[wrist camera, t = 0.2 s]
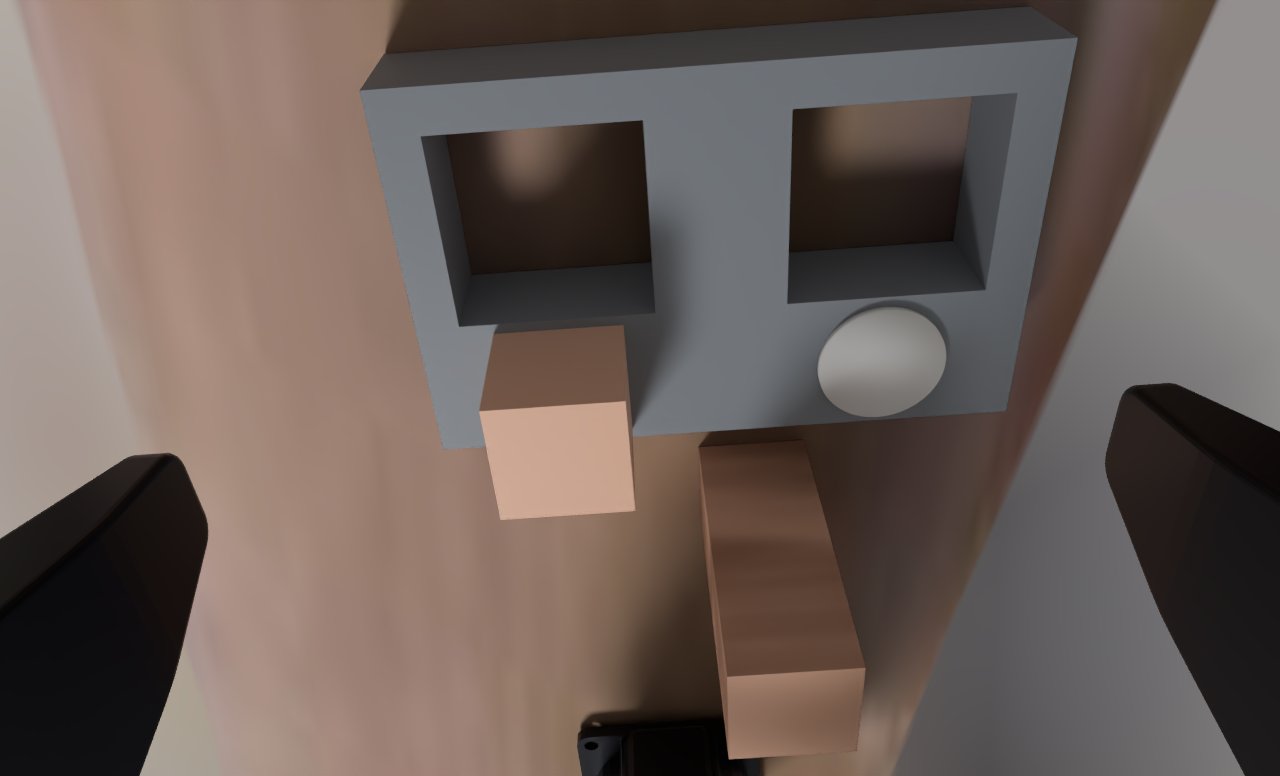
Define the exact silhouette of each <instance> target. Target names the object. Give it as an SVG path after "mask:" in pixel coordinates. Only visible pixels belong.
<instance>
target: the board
mask: <svg viewBox="0 0 1280 776" xmlns="http://www.w3.org/2000/svg"><path fill="white" fill-rule="evenodd" d="M1077 40H1078V38H1077V37H1076V36H1075V35H1073V34H1072V33H1070V32H1069V31H1067V30H1066V29H1064V28H1063V27H1061V26H1060V25H1058V24H1057V23H1055V22H1054V21H1052V20H1051V19H1049V18H1048V17H1046V16H1045V15H1043V14H1042V13H1040V12H1039V11H1038V10H1036V9H1035V8H1033V7H1032V6H1027V7H1013V8H1000V9H986V10H973V11H959V12H946V13H932V14H919V15H905V16H892V17H878V18H865V19H851V20H837V21H824V22H810V23H797V24H783V25H770V26H756V27H743V28H729V29H716V30H702V31H689V32H675V33H662V34H648V35H635V36H621V37H608V38H594V39H581V40H567V41H554V42H540V43H527V44H513V45H500V46H486V47H473V48H459V49H446V50H432V51H419V52H405V53H392V54H384V55H383V56H382V58H381V59H380V61H379V62H378V64H377V65H376V67H375V68H374V70H373V71H372V73H371V74H370V76H369V77H368V79H367V80H366V82H365V83H364V85H363V86H362V88H361V89H360V94H361V98H362V103H363V107H364V111H365V116H366V120H367V124H368V128H369V133H370V137H371V141H372V146H373V150H374V154H375V158H376V163H377V167H378V171H379V176H380V180H381V184H382V189H383V193H384V197H385V201H386V206H387V210H388V214H389V219H390V223H391V227H392V231H393V236H394V240H395V244H396V249H397V253H398V257H399V261H400V266H401V270H402V274H403V279H404V283H405V287H406V292H407V296H408V300H409V304H410V309H411V313H412V317H413V322H414V326H415V330H416V334H417V339H418V343H419V347H420V352H421V356H422V360H423V365H424V369H425V373H426V377H427V382H428V386H429V390H430V395H431V399H432V403H433V407H434V412H435V416H436V420H437V425H438V429H439V433H440V437H441V442H442V446H443V450H445V449H460V448H475V447H486V449H487V454H488V459H489V464H490V469H491V474H492V479H493V484H494V489H495V494H496V499H497V504H498V509H499V514H500V519H501V520H507V519H521V518H536V517H551V516H566V515H581V514H596V513H611V512H626V511H635V484H634V455H633V437H636V436H651V435H665V434H680V433H695V432H709V431H724V430H738V429H753V428H768V427H782V426H797V425H812V424H826V423H841V422H856V421H870V420H885V419H900V418H914V417H929V416H944V415H958V414H973V413H988V412H1002V411H1006V409H1007V404H1008V399H1009V394H1010V388H1011V383H1012V378H1013V373H1014V368H1015V362H1016V357H1017V352H1018V347H1019V342H1020V336H1021V331H1022V326H1023V321H1024V316H1025V310H1026V305H1027V300H1028V295H1029V290H1030V284H1031V279H1032V274H1033V269H1034V264H1035V258H1036V253H1037V248H1038V243H1039V238H1040V232H1041V227H1042V222H1043V217H1044V212H1045V206H1046V201H1047V196H1048V191H1049V186H1050V180H1051V175H1052V170H1053V165H1054V160H1055V154H1056V149H1057V144H1058V139H1059V134H1060V128H1061V123H1062V118H1063V113H1064V108H1065V102H1066V97H1067V92H1068V87H1069V82H1070V76H1071V71H1072V66H1073V61H1074V56H1075V50H1076V45H1077ZM968 96H973V98H972V105H971V113H970V120H969V127H968V135H967V142H966V149H965V157H964V164H963V172H962V179H961V186H960V194H959V201H958V208H957V216H956V223H955V231H954V238H953V241H946V242H932V243H918V244H904V245H889V246H875V247H861V248H847V249H833V250H819V251H805V252H790V253H789V222H790V185H791V149H792V112H793V109H803V108H817V107H831V106H845V105H858V104H872V103H886V102H900V101H913V100H927V99H941V98H954V97H968ZM639 120H642V124H643V139H644V155H645V170H646V186H647V201H648V217H649V232H650V248H651V262H649V263H635V264H621V265H607V266H592V267H578V268H564V269H550V270H536V271H522V272H508V273H493V274H479V275H472V274H471V268H470V263H469V258H468V252H467V247H466V242H465V236H464V231H463V226H462V220H461V215H460V209H459V204H458V199H457V193H456V188H455V183H454V177H453V172H452V167H451V161H450V156H449V150H448V145H447V140H446V134H460V133H474V132H487V131H501V130H515V129H529V128H542V127H556V126H570V125H584V124H597V123H611V122H625V121H639Z"/></svg>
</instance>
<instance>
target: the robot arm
mask: <svg viewBox="0 0 1280 776" xmlns="http://www.w3.org/2000/svg"><path fill="white" fill-rule="evenodd" d="M1105 467H1106V473H1107V478H1108V481H1109V484H1110V487H1111V489H1112V492H1113V494H1114V497H1115V499H1116V502H1117V504H1118V507H1119V510H1120V513H1121V515H1122V518H1123V520H1124V523H1125V526H1126V528H1127V531H1128V533H1129V536H1130V538H1131V541H1132V544H1133V546H1134V549H1135V551H1136V554H1137V557H1138V559H1139V562H1140V564H1141V567H1142V570H1143V572H1144V575H1145V577H1146V579H1147V582H1148V585H1149V588H1150V590H1151V593H1152V595H1153V598H1154V600H1155V602H1156V604H1157V607H1158V609H1159V612H1160V614H1161V616H1162V618H1163V620H1164V622H1165V624H1166V626H1167V628H1168V630H1169V632H1170V634H1171V636H1172V638H1173V640H1174V642H1175V644H1176V646H1177V648H1178V650H1179V652H1180V653H1181V655H1182V657H1183V659H1184V661H1185V663H1186V665H1187V667H1188V669H1189V671H1190V672H1191V674H1192V676H1193V678H1194V680H1195V682H1196V684H1197V686H1198V688H1199V689H1200V691H1201V693H1202V695H1203V697H1204V699H1205V701H1206V703H1207V705H1208V707H1209V708H1210V710H1211V712H1212V714H1213V716H1214V718H1215V720H1216V722H1217V724H1218V725H1219V727H1220V729H1221V731H1222V733H1223V735H1224V737H1225V739H1226V741H1227V742H1228V744H1229V746H1230V748H1231V750H1232V752H1233V754H1234V756H1235V758H1236V759H1237V761H1238V763H1239V765H1240V767H1241V769H1242V771H1243V773H1244V775H1245V776H1280V432H1279V431H1277V430H1275V429H1273V428H1271V427H1269V426H1266V425H1264V424H1262V423H1260V422H1258V421H1256V420H1253V419H1251V418H1249V417H1247V416H1245V415H1243V414H1240V413H1238V412H1236V411H1234V410H1231V409H1229V408H1227V407H1225V406H1223V405H1221V404H1219V403H1217V402H1214V401H1212V400H1210V399H1208V398H1206V397H1203V396H1201V395H1199V394H1197V393H1195V392H1193V391H1190V390H1188V389H1186V388H1184V387H1182V386H1179V385H1177V384H1172V383H1162V384H1148V385H1135V386H1132V387H1130V388H1129V389H1127V390H1126V391H1125V392H1124V394H1123V395H1122V397H1121V400H1120V403H1119V406H1118V410H1117V414H1116V418H1115V421H1114V425H1113V429H1112V433H1111V437H1110V441H1109V444H1108V448H1107V452H1106V460H1105ZM207 541H208V523H207V518H206V515H205V513H204V510H203V508H202V506H201V503H200V501H199V499H198V496H197V494H196V492H195V489H194V487H193V485H192V482H191V480H190V478H189V475H188V473H187V471H186V468H185V466H184V464H183V463H182V461H181V460H180V459H179V458H178V457H177V456H175V455H173V454H171V453H161V454H146V455H134V456H130V457H128V458H126V459H124V460H123V461H121V462H119V463H118V464H116V465H115V466H113V467H112V468H110V469H108V470H107V471H105V472H104V473H102V474H101V475H99V476H97V477H96V478H94V479H93V480H91V481H90V482H88V483H86V484H85V485H83V486H82V487H80V488H79V489H77V490H76V491H74V492H73V493H71V494H69V495H68V496H66V497H65V498H63V499H62V500H60V501H59V502H57V503H55V504H54V505H52V506H51V507H49V508H47V509H46V510H44V511H43V512H41V513H40V514H38V515H37V516H35V517H33V518H32V519H30V520H29V521H27V522H26V523H24V524H22V525H21V526H19V527H18V528H16V529H15V530H13V531H11V532H10V533H8V534H7V535H5V536H4V537H2V538H1V539H0V776H139V775H140V773H141V770H142V767H143V765H144V762H145V759H146V756H147V754H148V751H149V748H150V745H151V742H152V740H153V737H154V734H155V731H156V729H157V726H158V723H159V721H160V718H161V715H162V712H163V710H164V707H165V704H166V701H167V698H168V695H169V692H170V689H171V686H172V683H173V680H174V677H175V673H176V670H177V666H178V662H179V659H180V655H181V651H182V646H183V642H184V638H185V634H186V630H187V626H188V621H189V617H190V613H191V609H192V605H193V600H194V596H195V592H196V588H197V584H198V580H199V575H200V571H201V567H202V563H203V559H204V555H205V550H206V546H207ZM577 747H578V753H579V759H580V765H581V771H582V776H759V758H743V759H729V757H728V748H727V740H726V731H725V723H724V719H717V720H701V721H686V722H670V723H654V724H639V725H623V726H608V727H592V728H586V729H583V730H581V731H580V732H579V733H578V743H577Z"/></svg>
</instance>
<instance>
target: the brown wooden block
mask: <svg viewBox="0 0 1280 776" xmlns="http://www.w3.org/2000/svg"><path fill="white" fill-rule="evenodd" d="M698 448H699V474H700V501H701V526H702V534H703V543H704V551H705V560H706V568H707V577H708V585H709V594H710V603H711V611H712V620H713V628H714V637H715V645H716V654H717V663H718V671H719V680H720V688H721V697H722V705H723V714H724V723H725V731H726V740H727V748H728V757H729V759H743V758H759V757H775V756H791V755H806V754H822V753H838V752H854V751H857V745H858V736H859V726H860V717H861V708H862V699H863V689H864V680H865V671H866V667H865V663H864V659H863V656H862V652H861V648H860V645H859V641H858V637H857V634H856V630H855V626H854V623H853V619H852V615H851V612H850V608H849V604H848V601H847V597H846V593H845V590H844V586H843V582H842V579H841V575H840V571H839V568H838V564H837V560H836V557H835V553H834V549H833V546H832V542H831V538H830V535H829V531H828V527H827V524H826V520H825V516H824V513H823V509H822V505H821V502H820V498H819V494H818V491H817V487H816V483H815V480H814V476H813V472H812V469H811V465H810V461H809V458H808V454H807V450H806V447H805V443H804V440H796V441H782V442H767V443H752V444H737V445H723V446H708V447H698Z"/></svg>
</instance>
